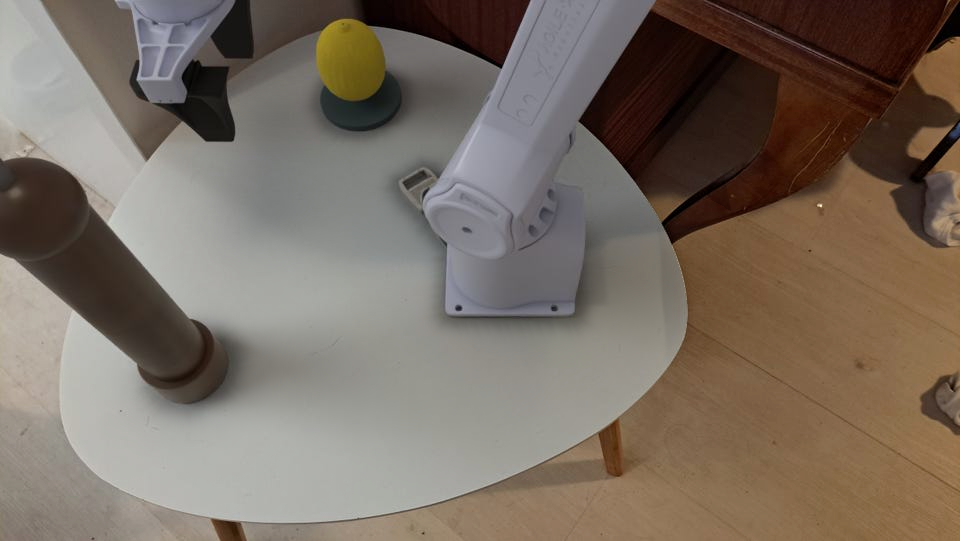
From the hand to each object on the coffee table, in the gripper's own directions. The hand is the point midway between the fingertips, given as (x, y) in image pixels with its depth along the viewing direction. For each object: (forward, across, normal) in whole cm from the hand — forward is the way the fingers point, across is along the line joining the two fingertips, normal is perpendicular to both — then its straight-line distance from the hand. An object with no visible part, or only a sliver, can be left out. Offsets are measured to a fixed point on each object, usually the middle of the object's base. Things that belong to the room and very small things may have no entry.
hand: (230, 95), depth 51 cm
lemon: (+9, -8, +7) cm, 14 cm away
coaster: (+9, -8, +7) cm, 14 cm away
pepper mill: (+9, +17, -3) cm, 20 cm away
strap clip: (+10, +4, +14) cm, 18 cm away
